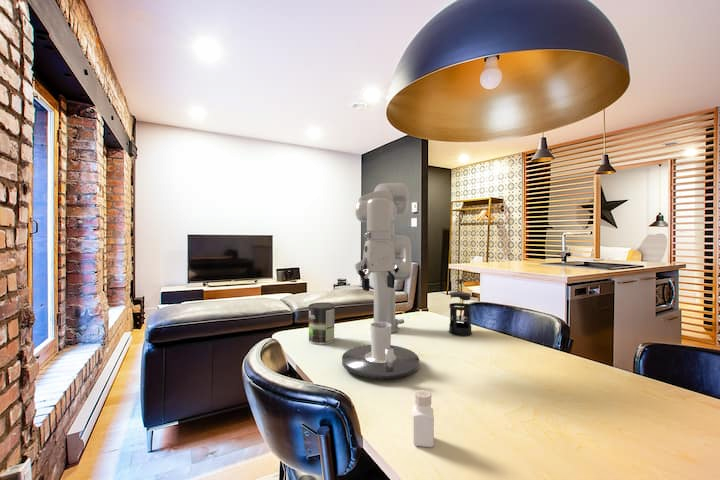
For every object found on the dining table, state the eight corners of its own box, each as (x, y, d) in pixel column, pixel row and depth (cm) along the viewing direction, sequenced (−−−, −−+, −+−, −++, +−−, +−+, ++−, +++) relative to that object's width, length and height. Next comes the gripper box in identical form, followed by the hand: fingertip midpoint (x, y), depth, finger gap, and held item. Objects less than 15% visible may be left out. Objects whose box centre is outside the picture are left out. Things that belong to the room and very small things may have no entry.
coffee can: (312, 346, 118) (312, 308, 118) (305, 338, 127) (305, 303, 127) (338, 342, 122) (338, 306, 122) (329, 335, 132) (329, 301, 132)
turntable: (338, 354, 109) (338, 329, 109) (404, 350, 113) (404, 325, 113) (348, 386, 85) (348, 353, 85) (431, 379, 90) (431, 348, 90)
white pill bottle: (432, 436, 64) (432, 389, 64) (434, 449, 60) (434, 399, 60) (412, 434, 65) (412, 388, 65) (412, 447, 61) (412, 397, 61)
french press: (463, 338, 128) (463, 281, 128) (443, 333, 135) (443, 279, 135) (478, 332, 136) (478, 279, 136) (458, 327, 143) (458, 277, 143)
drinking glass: (393, 353, 102) (393, 322, 102) (389, 361, 95) (389, 328, 95) (373, 351, 104) (373, 321, 104) (367, 359, 97) (368, 326, 97)
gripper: (361, 237, 95) (361, 293, 95) (406, 236, 103) (406, 288, 104) (349, 236, 101) (349, 289, 102) (393, 236, 110) (393, 285, 110)
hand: (378, 289), depth 103 cm, fingers open, 9 cm apart
